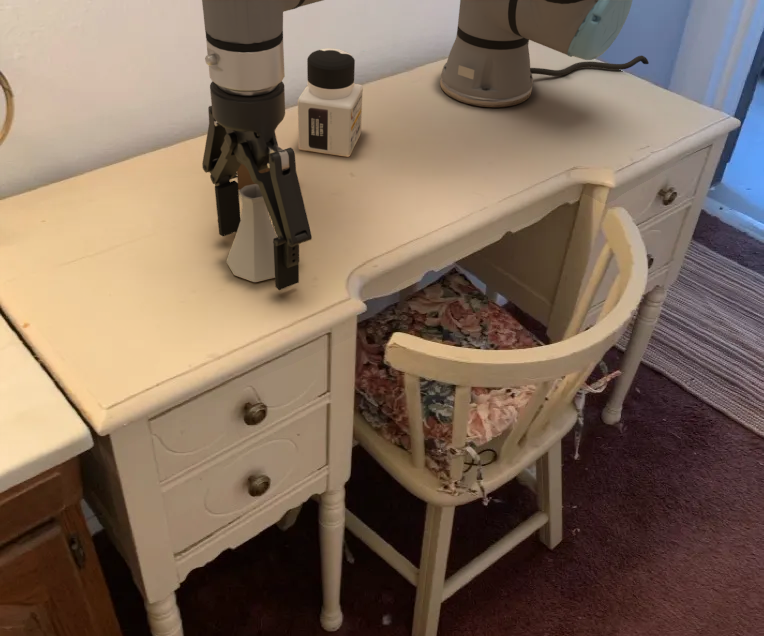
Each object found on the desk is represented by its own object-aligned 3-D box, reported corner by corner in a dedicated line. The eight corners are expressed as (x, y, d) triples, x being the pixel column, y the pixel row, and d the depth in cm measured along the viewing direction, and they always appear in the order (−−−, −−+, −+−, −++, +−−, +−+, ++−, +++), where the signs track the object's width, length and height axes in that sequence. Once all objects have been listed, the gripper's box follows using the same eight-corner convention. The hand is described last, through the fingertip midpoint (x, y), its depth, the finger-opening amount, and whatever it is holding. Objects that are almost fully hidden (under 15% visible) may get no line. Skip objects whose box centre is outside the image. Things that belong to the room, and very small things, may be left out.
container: (349, 158, 120) (352, 68, 111) (297, 150, 121) (296, 61, 112) (361, 134, 126) (364, 47, 117) (311, 126, 126) (311, 40, 117)
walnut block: (261, 174, 115) (259, 141, 112) (290, 186, 114) (289, 152, 110) (238, 189, 112) (235, 155, 109) (267, 201, 111) (265, 167, 107)
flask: (263, 241, 104) (259, 168, 97) (301, 267, 100) (299, 193, 93) (215, 263, 100) (207, 189, 93) (253, 291, 96) (248, 216, 89)
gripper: (158, 46, 89) (180, 219, 104) (280, 138, 76) (286, 322, 91) (219, 33, 93) (233, 202, 108) (347, 119, 79) (342, 299, 94)
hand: (257, 257), depth 99 cm, fingers open, 12 cm apart
